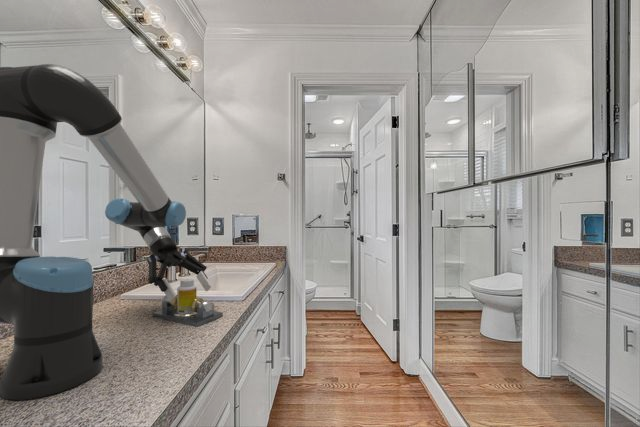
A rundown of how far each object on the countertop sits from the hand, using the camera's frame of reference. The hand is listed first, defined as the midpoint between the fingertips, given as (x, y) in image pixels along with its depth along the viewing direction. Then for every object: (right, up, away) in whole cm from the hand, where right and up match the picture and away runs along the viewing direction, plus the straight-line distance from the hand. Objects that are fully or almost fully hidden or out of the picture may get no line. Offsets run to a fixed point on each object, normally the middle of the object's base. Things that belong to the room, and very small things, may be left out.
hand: (192, 293), depth 95 cm
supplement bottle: (-2, -6, +1) cm, 7 cm away
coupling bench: (-2, -8, +1) cm, 8 cm away
